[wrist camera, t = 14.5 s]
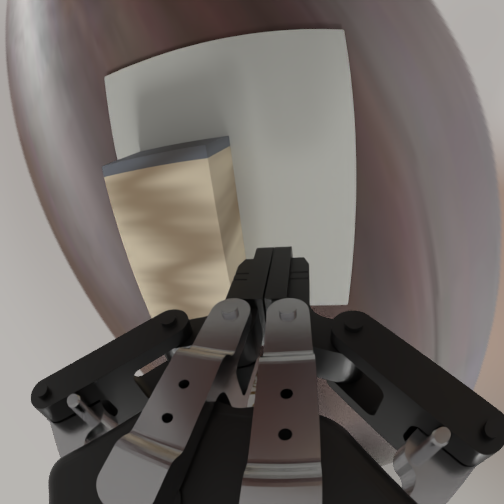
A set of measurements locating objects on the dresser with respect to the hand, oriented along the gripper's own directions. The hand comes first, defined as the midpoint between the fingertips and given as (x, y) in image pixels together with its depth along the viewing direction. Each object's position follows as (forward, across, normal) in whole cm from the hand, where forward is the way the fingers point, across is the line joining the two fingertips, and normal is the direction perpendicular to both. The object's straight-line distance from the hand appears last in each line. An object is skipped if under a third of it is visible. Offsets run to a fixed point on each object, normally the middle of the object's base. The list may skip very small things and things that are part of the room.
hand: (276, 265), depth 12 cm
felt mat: (+5, +3, -2) cm, 7 cm away
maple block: (+3, +6, -6) cm, 8 cm away
